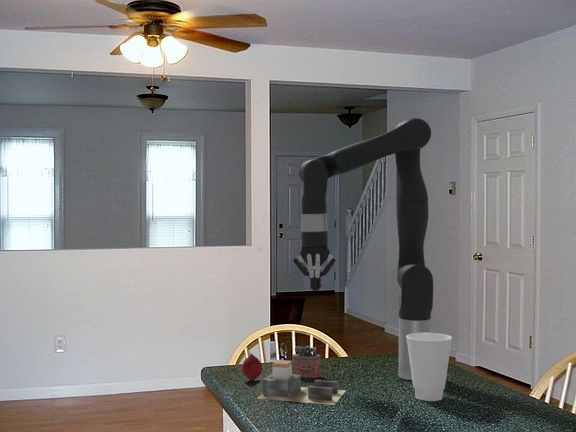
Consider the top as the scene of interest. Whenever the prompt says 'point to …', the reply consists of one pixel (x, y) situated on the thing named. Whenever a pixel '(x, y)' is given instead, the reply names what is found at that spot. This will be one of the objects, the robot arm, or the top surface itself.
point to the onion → (252, 367)
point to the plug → (282, 370)
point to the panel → (301, 391)
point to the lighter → (306, 362)
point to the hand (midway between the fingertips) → (315, 290)
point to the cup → (429, 363)
